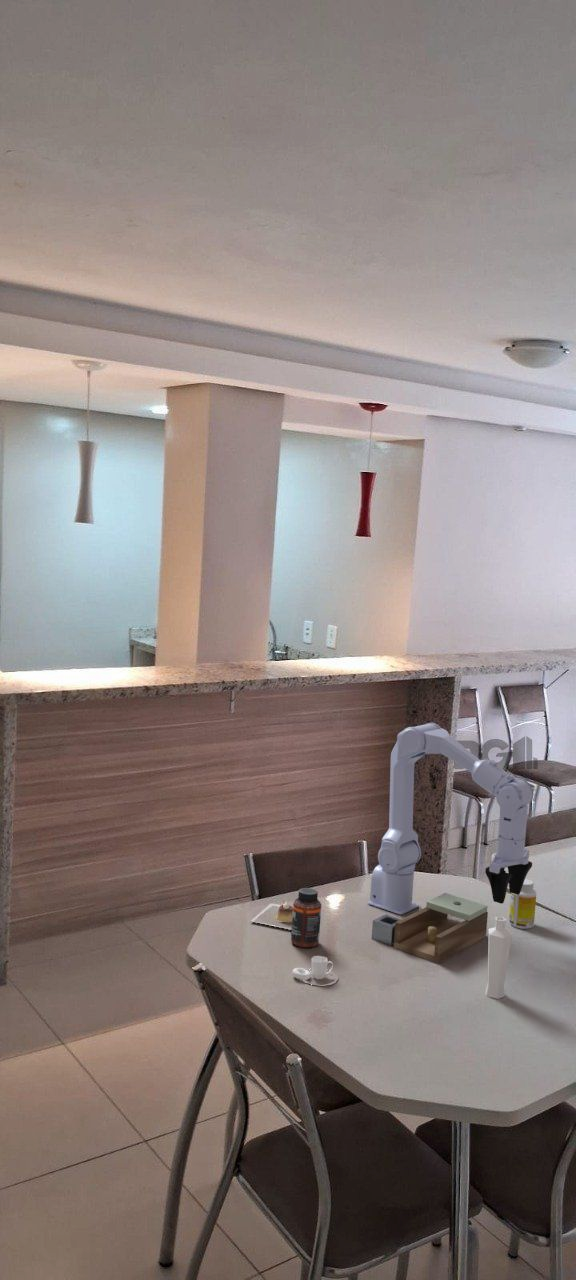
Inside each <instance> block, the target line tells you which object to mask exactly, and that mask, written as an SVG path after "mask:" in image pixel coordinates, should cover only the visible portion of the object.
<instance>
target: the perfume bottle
mask: <svg viewBox="0 0 576 1280" xmlns="http://www.w3.org/2000/svg"><path fill="white" fill-rule="evenodd" d="M507 920H508V919H507V918H505V917H503V916H495V926H494V927H491V928H488V938H487V939H488V944H487V945H488V946H487V948H488V950H487V951H488V953H487V985H486V988H485V990H484V992H485V996H486V997H489V998H492V999H496V1000H500V999H501V998H504V997H506V993H505V984H506V983H505V982H506V977H507V976H506V975H507V970H508V964H509V957H510V952H511V951H510V950H511V946H512V939H513V934H512V933H511V932H510V931H508V929H506V923H507Z"/></svg>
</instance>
